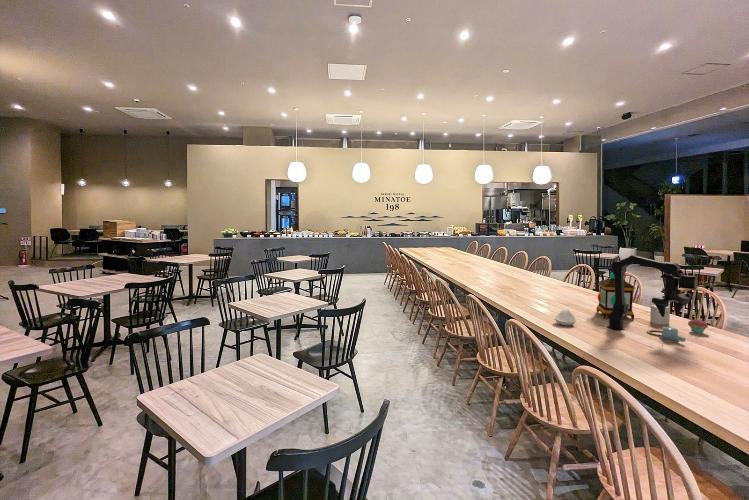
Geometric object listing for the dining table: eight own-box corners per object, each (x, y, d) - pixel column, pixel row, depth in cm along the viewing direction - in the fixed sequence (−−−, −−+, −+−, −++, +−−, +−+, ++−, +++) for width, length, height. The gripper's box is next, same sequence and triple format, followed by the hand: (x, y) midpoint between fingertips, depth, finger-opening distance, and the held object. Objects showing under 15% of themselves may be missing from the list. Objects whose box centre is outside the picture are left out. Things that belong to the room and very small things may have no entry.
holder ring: (659, 337, 209) (659, 335, 209) (642, 331, 219) (642, 330, 219) (674, 335, 211) (674, 334, 211) (657, 330, 221) (657, 329, 221)
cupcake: (689, 333, 215) (690, 312, 214) (685, 329, 222) (687, 308, 221) (709, 335, 211) (710, 313, 210) (705, 331, 218) (706, 310, 217)
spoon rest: (576, 328, 228) (576, 316, 227) (554, 326, 233) (554, 314, 232) (575, 318, 249) (575, 307, 249) (555, 317, 254) (555, 306, 254)
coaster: (670, 342, 200) (670, 341, 200) (654, 337, 209) (654, 336, 208) (683, 341, 202) (683, 340, 202) (667, 336, 210) (667, 335, 210)
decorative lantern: (601, 319, 246) (603, 272, 244) (593, 311, 265) (595, 268, 263) (637, 321, 241) (639, 273, 238) (627, 313, 260) (628, 269, 257)
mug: (658, 337, 208) (659, 327, 207) (669, 336, 208) (670, 326, 208) (677, 344, 196) (678, 333, 196) (689, 343, 197) (690, 332, 197)
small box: (663, 322, 238) (664, 305, 237) (669, 324, 232) (670, 307, 231) (649, 321, 238) (650, 305, 238) (655, 324, 233) (656, 307, 232)
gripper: (672, 290, 193) (670, 321, 194) (701, 288, 197) (699, 318, 198) (651, 286, 204) (650, 316, 205) (679, 285, 208) (678, 313, 209)
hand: (669, 316), depth 204 cm, fingers open, 9 cm apart
